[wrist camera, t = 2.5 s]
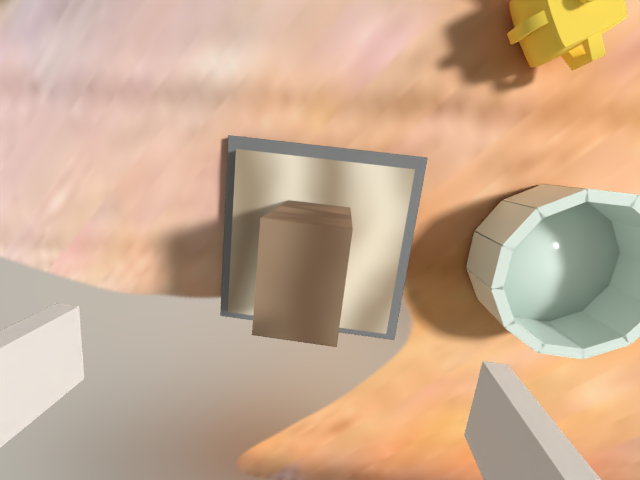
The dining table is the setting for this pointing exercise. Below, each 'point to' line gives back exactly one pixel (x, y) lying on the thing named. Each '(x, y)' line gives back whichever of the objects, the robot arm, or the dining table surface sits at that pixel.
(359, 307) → the lid
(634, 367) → the dining table surface
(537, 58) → the teapot
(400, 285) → the mat
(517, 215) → the bowl
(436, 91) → the dining table surface
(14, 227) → the dining table surface
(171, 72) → the dining table surface
